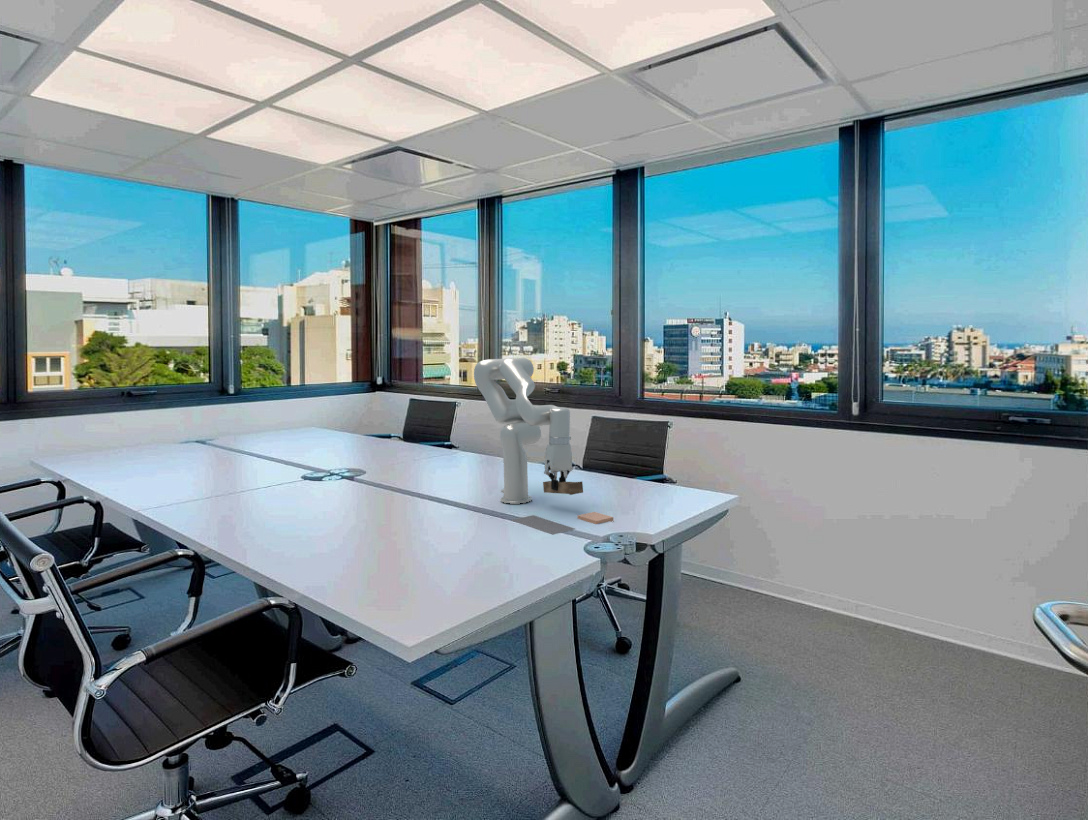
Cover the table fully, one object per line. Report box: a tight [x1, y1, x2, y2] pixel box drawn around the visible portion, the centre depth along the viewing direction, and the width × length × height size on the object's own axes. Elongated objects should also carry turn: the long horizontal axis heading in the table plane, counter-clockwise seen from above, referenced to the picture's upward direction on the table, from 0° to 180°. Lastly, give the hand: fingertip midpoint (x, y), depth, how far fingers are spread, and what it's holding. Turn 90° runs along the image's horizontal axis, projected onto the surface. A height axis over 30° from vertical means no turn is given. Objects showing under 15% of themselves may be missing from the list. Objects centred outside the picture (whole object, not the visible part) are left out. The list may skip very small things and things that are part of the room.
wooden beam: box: [542, 480, 584, 496], centre depth 243 cm, size 18×6×4 cm, turn 37°
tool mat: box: [511, 514, 576, 535], centre depth 224 cm, size 24×10×1 cm, turn 38°
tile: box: [577, 511, 614, 525], centre depth 229 cm, size 2×8×10 cm
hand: (558, 488), depth 244 cm, fingers closed on wooden beam, 3 cm apart
